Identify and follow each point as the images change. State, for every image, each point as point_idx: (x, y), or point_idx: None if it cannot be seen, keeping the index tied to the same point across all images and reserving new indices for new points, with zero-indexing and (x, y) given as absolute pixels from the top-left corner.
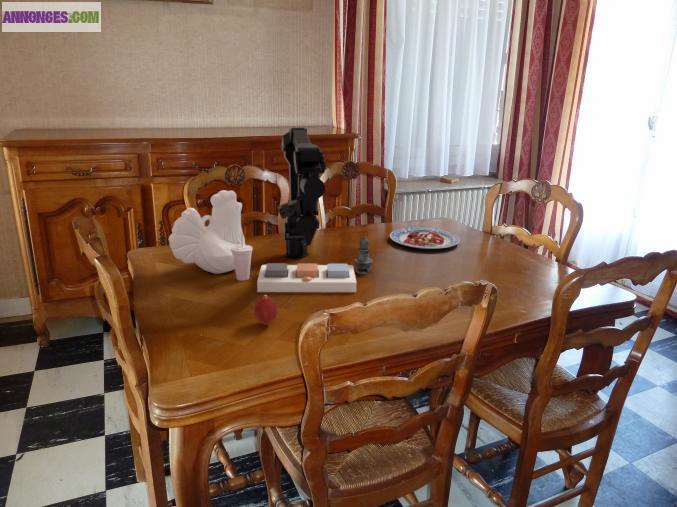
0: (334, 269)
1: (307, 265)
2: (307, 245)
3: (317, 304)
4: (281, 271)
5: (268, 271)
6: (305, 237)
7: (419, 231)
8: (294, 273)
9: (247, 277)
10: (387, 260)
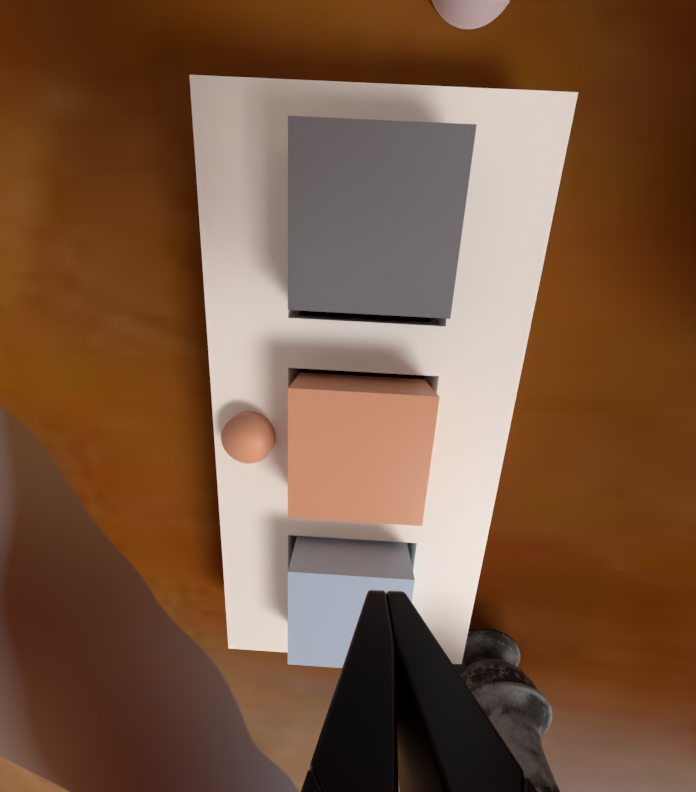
0: (308, 604)
1: (389, 463)
2: (368, 598)
3: (101, 449)
4: (290, 270)
5: (290, 152)
6: (324, 727)
7: None
8: (360, 363)
9: (443, 2)
10: (591, 751)
